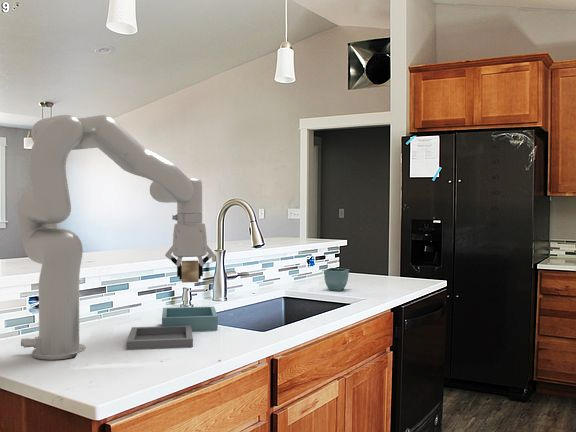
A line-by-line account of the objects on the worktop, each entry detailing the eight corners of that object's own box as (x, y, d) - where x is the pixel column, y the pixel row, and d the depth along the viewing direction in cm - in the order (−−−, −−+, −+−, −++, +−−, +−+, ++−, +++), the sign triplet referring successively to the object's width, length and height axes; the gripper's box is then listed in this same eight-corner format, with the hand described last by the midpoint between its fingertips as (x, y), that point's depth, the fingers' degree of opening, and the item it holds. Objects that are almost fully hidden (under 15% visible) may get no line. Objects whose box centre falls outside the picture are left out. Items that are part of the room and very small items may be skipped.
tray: (161, 335, 168) (161, 318, 168) (162, 323, 183) (163, 307, 183) (217, 333, 171) (217, 316, 171) (214, 321, 186) (214, 306, 186)
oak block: (181, 282, 174) (181, 262, 174) (181, 280, 179) (181, 260, 178) (198, 282, 175) (198, 262, 175) (197, 279, 180) (197, 260, 179)
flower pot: (342, 292, 248) (342, 271, 248) (323, 290, 252) (323, 270, 252) (349, 289, 256) (349, 269, 256) (330, 287, 260) (330, 267, 260)
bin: (126, 353, 148) (126, 341, 148) (131, 337, 164) (131, 327, 164) (192, 350, 151) (192, 339, 151) (191, 335, 168) (191, 325, 167)
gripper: (160, 219, 171) (161, 281, 171) (218, 219, 174) (219, 279, 175) (161, 218, 178) (161, 277, 179) (217, 218, 181) (217, 276, 182)
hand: (190, 278), depth 177 cm, fingers closed on oak block, 4 cm apart
